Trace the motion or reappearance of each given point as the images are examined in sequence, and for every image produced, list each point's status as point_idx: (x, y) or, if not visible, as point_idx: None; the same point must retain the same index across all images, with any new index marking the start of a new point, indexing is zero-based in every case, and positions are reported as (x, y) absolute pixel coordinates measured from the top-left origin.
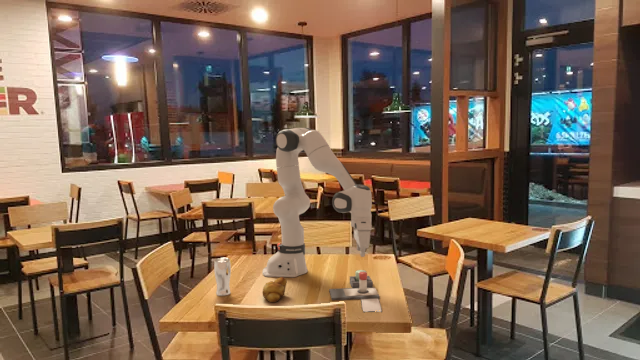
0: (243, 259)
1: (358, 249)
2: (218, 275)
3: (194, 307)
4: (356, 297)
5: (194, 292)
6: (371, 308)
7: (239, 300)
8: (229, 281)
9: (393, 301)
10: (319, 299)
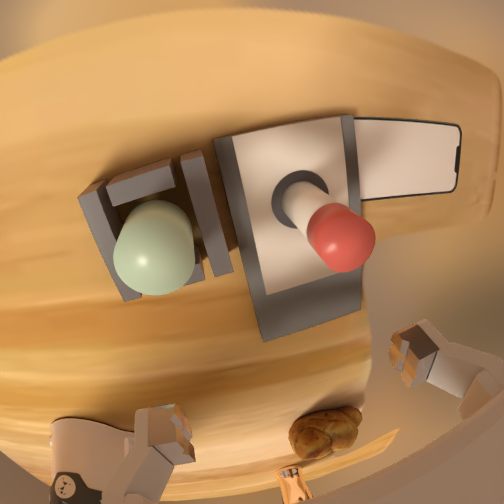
0: None
1: (186, 429)
2: None
3: (346, 460)
4: None
5: None
6: (438, 159)
7: None
8: (293, 486)
9: (377, 56)
10: (343, 338)
